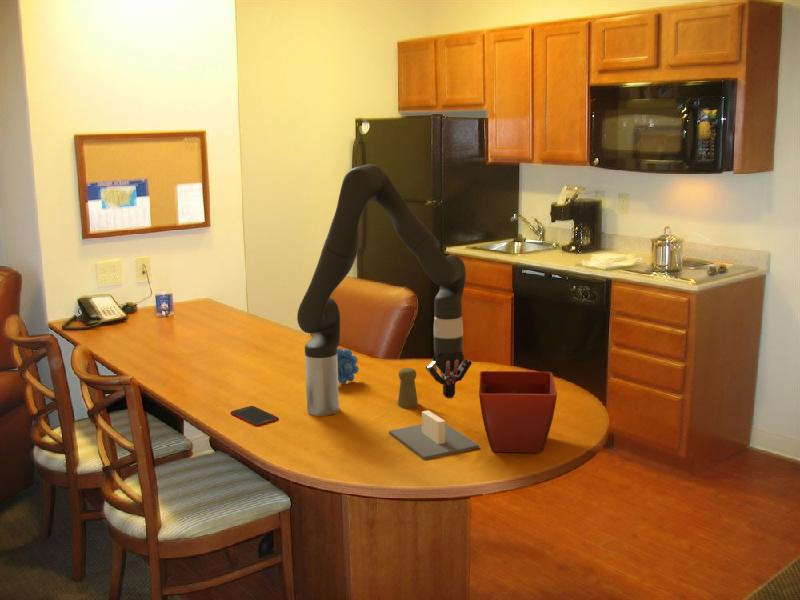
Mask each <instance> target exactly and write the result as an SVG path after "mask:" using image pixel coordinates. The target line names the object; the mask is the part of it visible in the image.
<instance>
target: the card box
mask: <svg viewBox="0 0 800 600" xmlns="http://www.w3.org/2000/svg"><path fill="white" fill-rule="evenodd" d="M421 424H422V433H423V434H424V435H426V436H427V437H429V438H430V439H431V440H433V441H434V442H436V443H437V444H442V443H445V424H446V420H444V419H443V418H441V417H439V416H438V415H437V414H435V413H434V412H432V411H430V410H424V411H421Z"/></svg>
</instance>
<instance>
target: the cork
mask: <svg viewBox="0 0 800 600" xmlns="http://www.w3.org/2000/svg"><path fill="white" fill-rule="evenodd" d="M398 378H399V380H400V383H399V390H398V397H397V398H398V400H397V406H398V408H399V407H400V408H403V409H412V408H416V407H418V406H419V401H418V395H417V387H416V382H415V381H416V379H417V371H416V369H415V368H413V367H403V368H400V369H399V371H398ZM417 405H418V406H417ZM415 406H416V407H415Z"/></svg>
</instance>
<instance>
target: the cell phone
mask: <svg viewBox="0 0 800 600" xmlns="http://www.w3.org/2000/svg"><path fill="white" fill-rule="evenodd" d="M230 415H231V416H232V417H235V418H238V419H239V420H241V421H243V422H246V423H248V424H250V425H252V426H253V427H256V426H259V427H262V425H263V426H265V424H266V425H268V424H272V422H273V423H275V421H276V422H278V420H279V421H280V419H279V416H276V415H274V414H272V413H269V412H268V411H266V410H264V409H261V408H259V407H257V406H255V405H249V406H245V407H240V408H239V409H234V410H231V411H230Z"/></svg>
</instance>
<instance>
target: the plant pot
mask: <svg viewBox="0 0 800 600" xmlns="http://www.w3.org/2000/svg"><path fill="white" fill-rule="evenodd" d="M478 387H479V388H478V389H479V390H478V395H479V397H478V398H479V404H480V411H481V415H482V416H481V417H482V420H483V421H482V422H483V426H484V431H485V434H486V436H487V440H488V444H489V447H490V450H491V451H492V452H494V453H495V452H496V453H531V454H532V453H533V454H534V453H535V454H536V453H537V454H538V453H542V452H543V450H544V448H545V445H546V442H547V439H548V437H549V433H550V431H551V426H552V423H553V419H554V414H555V409H556V406H557V405H556V404H557V397H558V392H557V389H556V384H555V379H554V374H553V372H551V371H530V370H529V371H526V370H524V371H523V370H522V371H521V370H519V371H518V370H481V371H479V386H478Z"/></svg>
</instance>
